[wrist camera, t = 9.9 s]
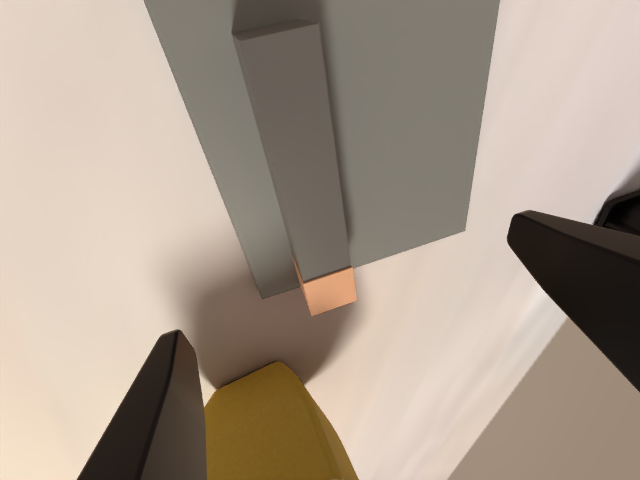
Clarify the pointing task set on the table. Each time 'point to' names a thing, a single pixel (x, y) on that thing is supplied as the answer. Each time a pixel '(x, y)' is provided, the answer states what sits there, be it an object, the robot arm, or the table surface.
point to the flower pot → (271, 431)
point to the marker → (300, 153)
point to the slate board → (344, 116)
